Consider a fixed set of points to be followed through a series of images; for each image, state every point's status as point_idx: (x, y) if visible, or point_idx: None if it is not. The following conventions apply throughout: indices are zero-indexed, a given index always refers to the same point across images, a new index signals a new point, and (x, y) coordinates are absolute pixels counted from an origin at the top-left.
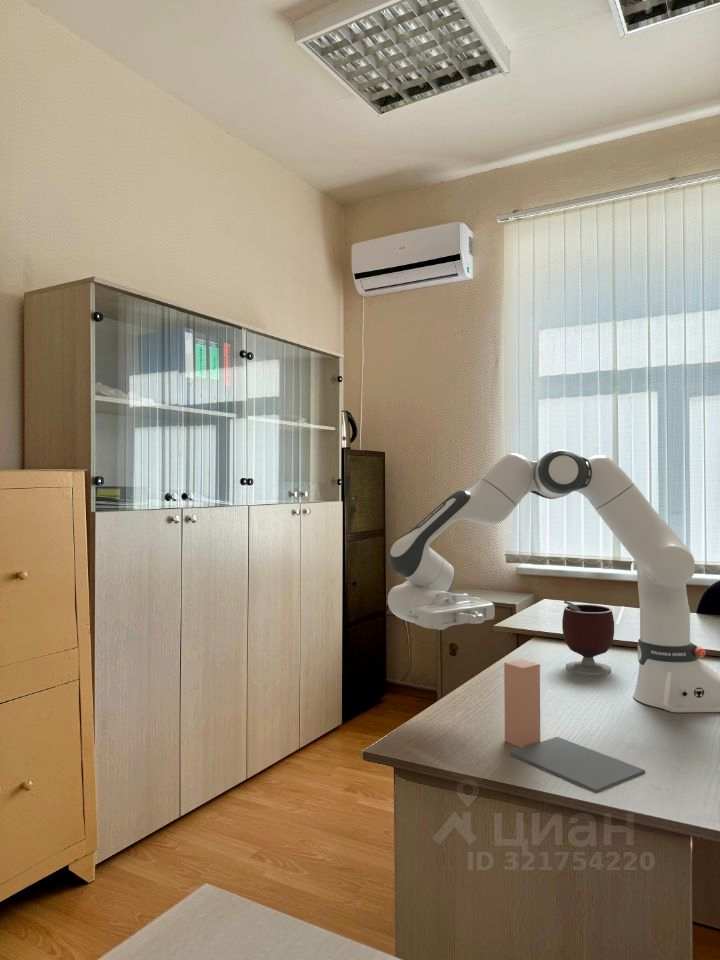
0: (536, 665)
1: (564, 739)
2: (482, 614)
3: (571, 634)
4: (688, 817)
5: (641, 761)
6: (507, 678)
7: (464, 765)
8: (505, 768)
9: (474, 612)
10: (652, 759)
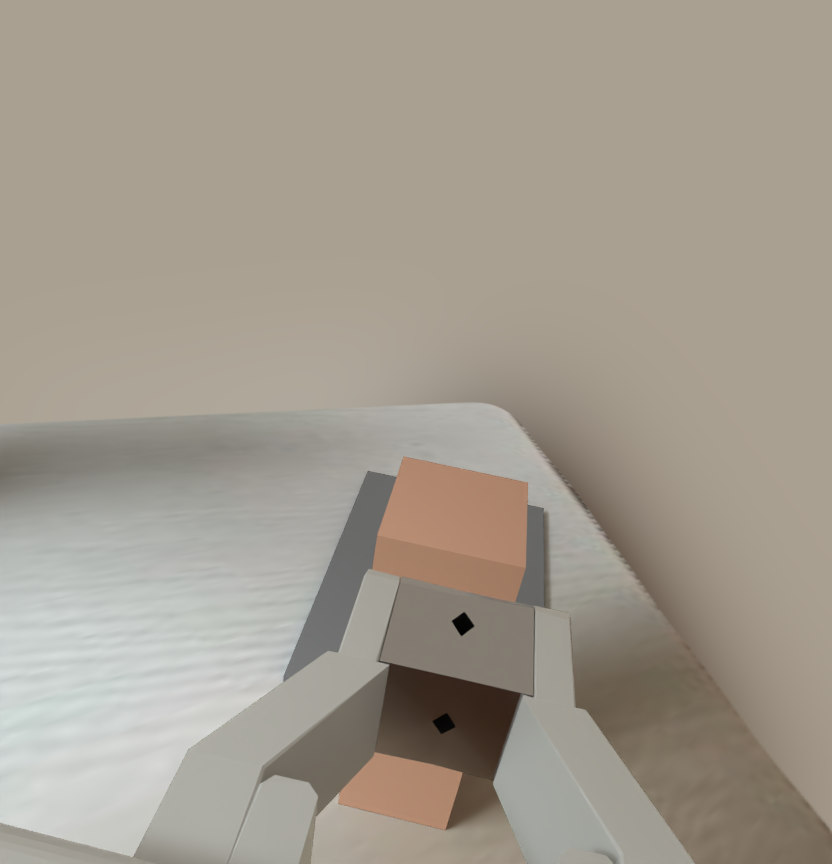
0: (427, 463)
1: (295, 648)
2: (374, 574)
3: None
4: (493, 418)
5: (304, 490)
6: None
7: (755, 818)
8: (634, 701)
9: (295, 750)
10: (275, 478)
